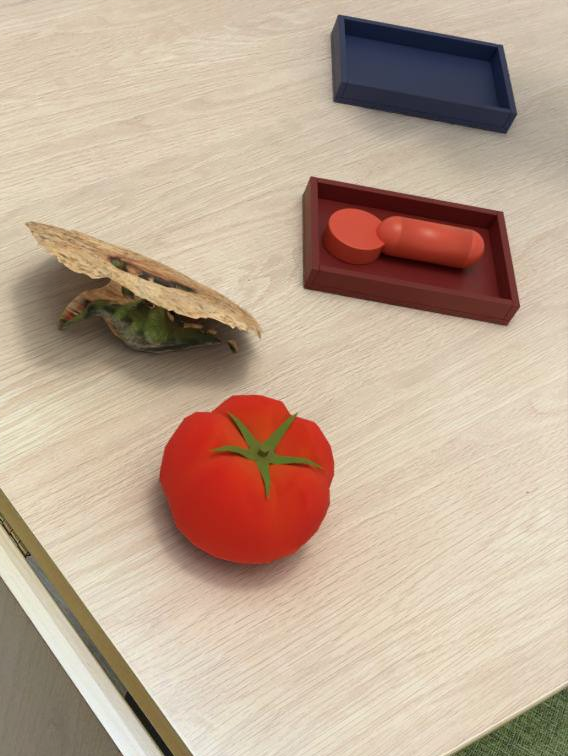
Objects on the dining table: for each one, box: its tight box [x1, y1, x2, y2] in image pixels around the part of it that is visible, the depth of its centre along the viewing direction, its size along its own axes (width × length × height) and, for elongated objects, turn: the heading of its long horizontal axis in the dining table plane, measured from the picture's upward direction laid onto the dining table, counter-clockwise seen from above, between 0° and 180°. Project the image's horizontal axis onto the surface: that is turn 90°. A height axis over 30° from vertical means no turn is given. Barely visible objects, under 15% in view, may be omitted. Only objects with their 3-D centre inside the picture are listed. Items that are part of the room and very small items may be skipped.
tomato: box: [158, 394, 335, 565], centre depth 62 cm, size 11×11×8 cm
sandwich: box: [24, 220, 266, 355], centre depth 71 cm, size 18×14×8 cm
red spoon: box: [322, 208, 484, 268], centre depth 79 cm, size 12×5×3 cm, turn 82°
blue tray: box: [330, 13, 518, 134], centre depth 93 cm, size 16×11×2 cm
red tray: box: [302, 175, 521, 326], centre depth 80 cm, size 16×11×2 cm
